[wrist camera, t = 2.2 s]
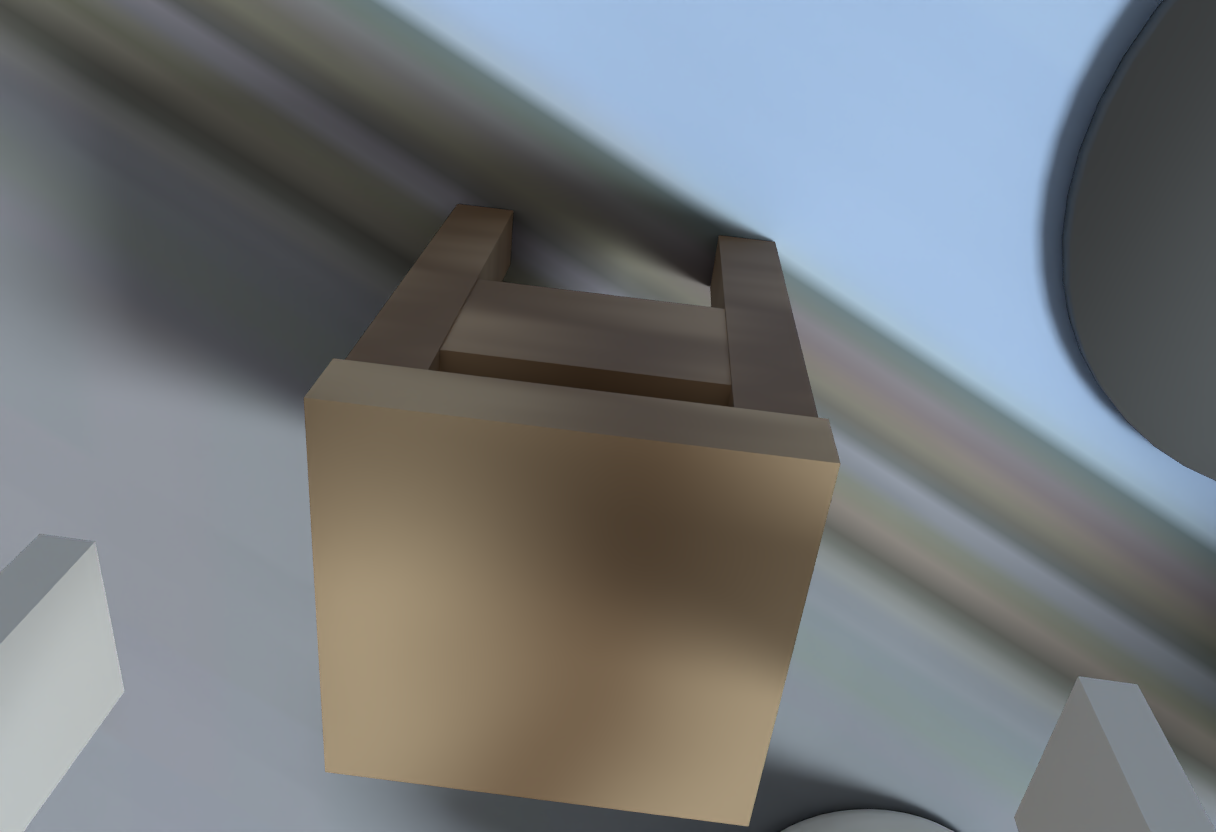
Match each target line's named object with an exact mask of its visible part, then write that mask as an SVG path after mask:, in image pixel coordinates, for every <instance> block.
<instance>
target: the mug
mask: <svg viewBox="0 0 1216 832" xmlns="http://www.w3.org/2000/svg"><path fill="white" fill-rule="evenodd" d="M781 832H954V831H952V830H950V829H948V828H946V827H944V826H942V825H940V824H938V823H936V822H933V821H930V820H928V819H925V818H922V817H919V816H915V815H911V814H907V813H903V812H896V811H890V810H877V809H855V810H845V811H837V812H832V813H827V814H822V815H818V816H815V817H812V818H809V819H806V820H803V821H801V822H799V823H796V824H794V825H791V826H789V827H788V828H786V829H784V830H782V831H781Z"/></svg>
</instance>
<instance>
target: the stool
mask: <svg viewBox="0 0 1216 832" xmlns="http://www.w3.org/2000/svg"><path fill="white" fill-rule="evenodd" d="M512 228H513V210H504V209H496V208H488V207H479V206H471V205H463V204H457V205H456V207H455V208H454V210H453V211H452V212H451V214H450V215H449V217H448V218H447V219H446V221H445V222H444V223H443V225H442V226H441V228H440V229H439V230H438V232H437V233H436V234H435V236H434V237H433V239H432V240H431V241H430V243H429V244H428V246H427V247H426V248H425V250H424V251H423V252H422V254H421V255H420V257H419V258H418V259H417V261H416V262H415V263H414V265H413V266H412V268H411V269H410V270H409V272H408V273H407V274H406V276H405V277H404V279H403V280H402V281H401V283H400V284H399V286H398V287H397V288H396V290H395V291H394V292H393V294H392V295H391V297H390V298H389V299H388V301H387V302H386V303H385V305H384V306H383V308H382V309H381V310H380V312H379V313H378V314H377V316H376V317H375V319H374V320H373V321H372V323H371V324H370V326H369V327H368V328H367V330H366V331H365V332H364V334H363V335H362V337H361V338H360V339H359V341H358V342H357V343H356V345H355V346H354V348H353V349H352V350H351V352H350V353H349V354H348V356H347V357H346V359H345V360H343V359H334V358H333V359H332V361H331V362H330V363H329V365H328V366H327V367H326V369H325V370H324V371H323V373H322V374H321V375H320V377H319V378H318V379H317V381H316V382H315V383H314V385H313V386H312V387H311V389H310V390H309V391H308V393H307V394H306V395H305V397H304V410H305V428H306V445H307V462H308V480H309V497H310V514H311V532H312V549H313V567H314V584H315V601H316V619H317V636H318V654H319V671H320V688H321V706H322V723H323V741H324V758H325V772H330V773H337V774H345V775H353V776H361V777H368V778H376V779H384V780H392V781H399V782H407V783H415V784H423V785H431V786H438V787H446V788H454V789H462V790H469V791H477V792H485V793H493V794H500V795H508V796H516V797H524V798H531V799H539V800H547V801H555V802H563V803H570V804H578V805H586V806H594V807H601V808H609V809H617V810H625V811H632V812H640V813H648V814H656V815H663V816H671V817H679V818H687V819H695V820H702V821H710V822H718V823H726V824H733V825H741V826H749V822H750V818H751V814H752V811H753V807H754V803H755V799H756V795H757V791H758V787H759V783H760V779H761V775H762V771H763V767H764V763H765V759H766V755H767V751H768V747H769V743H770V739H771V735H772V732H773V728H774V724H775V720H776V716H777V712H778V708H779V704H780V700H781V696H782V692H783V688H784V684H785V680H786V676H787V672H788V668H789V664H790V660H791V656H792V653H793V649H794V645H795V641H796V637H797V633H798V629H799V625H800V621H801V617H802V613H803V609H804V605H805V601H806V597H807V593H808V589H809V585H810V581H811V577H812V574H813V570H814V566H815V562H816V558H817V554H818V550H819V546H820V542H821V538H822V534H823V530H824V526H825V522H826V518H827V514H828V510H829V506H830V502H831V498H832V495H833V491H834V487H835V483H836V479H837V475H838V471H839V467H840V460H839V457H838V453H837V449H836V445H835V442H834V438H833V434H832V430H831V426H830V423H829V419H825V418H818V414H817V410H816V406H815V402H814V398H813V394H812V390H811V386H810V382H809V378H808V374H807V370H806V366H805V362H804V358H803V353H802V349H801V345H800V341H799V337H798V333H797V329H796V325H795V321H794V317H793V313H792V309H791V305H790V301H789V297H788V293H787V289H786V284H785V280H784V276H783V272H782V268H781V264H780V260H779V256H778V252H777V248H776V244H775V242H772V241H763V240H755V239H746V238H738V237H730V236H721V235H719V237H718V243H717V249H716V256H715V262H714V268H713V274H712V281H711V287H710V291H711V307H705V306H696V305H688V304H680V303H672V302H663V301H655V300H647V299H639V298H630V297H622V296H614V295H605V294H597V293H589V292H581V291H572V290H564V289H556V288H548V287H539V286H531V285H523V284H515V283H506V282H502V281H503V279H504V277H505V275H506V272H507V270H508V268H509V266H510V264H511V246H512Z"/></svg>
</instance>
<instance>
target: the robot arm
mask: <svg viewBox="0 0 1216 832" xmlns="http://www.w3.org/2000/svg"><path fill="white" fill-rule="evenodd" d="M123 693H124V686H123V681H122V676H121V671H120V666H119V660H118V655H117V650H116V645H115V640H114V635H113V630H112V625H111V620H110V614H109V609H108V604H107V599H106V594H105V589H104V584H103V579H102V573H101V568H100V563H99V558H98V553H97V548H96V543H95V541H88V540H81V539H73V538H66V537H59V536H51V535H44V534H39V535H38V536H37V537H36V538H35V539H34V540H33V541H32V542H31V543H30V544H29V545H28V546H27V547H26V548H25V549H24V550H23V551H22V552H21V553H20V554H19V555H18V556H17V557H16V558H15V559H14V560H13V561H12V562H10V563H9V564H8V565H7V566H6V567H5V568H4V569H3V570H2V571H1V572H0V832H24V831H25V829H26V828H27V826H28V825H29V824H30V822H31V821H32V820H33V818H34V817H35V815H36V814H37V813H38V811H39V810H40V808H41V807H42V806H43V804H44V803H45V801H46V800H47V799H48V797H49V796H50V794H51V793H52V792H53V790H54V789H55V787H56V786H57V785H58V783H59V782H60V781H61V779H62V778H63V776H64V775H65V774H66V772H67V771H68V769H69V768H70V767H71V765H72V764H73V762H74V761H75V760H76V758H77V757H78V755H79V754H80V753H81V751H82V750H83V749H84V747H85V746H86V744H87V743H88V742H89V740H90V739H91V737H92V736H93V735H94V733H95V732H96V730H97V729H98V728H99V726H100V725H101V723H102V722H103V721H104V719H105V718H106V717H107V715H108V714H109V712H110V711H111V710H112V708H113V707H114V705H115V704H116V703H117V701H118V700H119V698H120V697H121V696H122V694H123ZM1014 818H1015V821H1016V825H1017V828H1018V831H1019V832H1216V830H1215V829H1214V827H1213V825H1212V823H1211V821H1210V819H1209V817H1208V816H1207V814H1206V812H1205V810H1204V808H1203V806H1202V804H1201V802H1200V801H1199V799H1198V797H1197V795H1196V793H1195V791H1194V789H1193V787H1192V786H1191V784H1190V782H1189V780H1188V778H1187V776H1186V774H1185V773H1184V771H1183V769H1182V767H1181V765H1180V763H1179V761H1178V759H1177V758H1176V756H1175V754H1174V752H1173V750H1172V748H1171V746H1170V744H1169V743H1168V741H1167V739H1166V737H1165V735H1164V733H1163V731H1162V730H1161V728H1160V726H1159V724H1158V722H1157V720H1156V718H1155V716H1154V715H1153V713H1152V711H1151V709H1150V707H1149V705H1148V703H1147V701H1146V700H1145V698H1144V696H1143V694H1142V692H1141V690H1140V688H1139V687H1138V685H1137V684H1131V683H1123V682H1116V681H1109V680H1102V679H1094V678H1087V677H1080V676H1078V678H1077V680H1076V682H1075V684H1074V687H1073V689H1072V691H1071V693H1070V695H1069V698H1068V700H1067V702H1066V704H1065V706H1064V709H1063V711H1062V713H1061V715H1060V717H1059V720H1058V722H1057V724H1056V726H1055V728H1054V731H1053V733H1052V735H1051V737H1050V740H1049V742H1048V744H1047V746H1046V748H1045V751H1044V753H1043V755H1042V757H1041V759H1040V762H1039V764H1038V766H1037V768H1036V770H1035V773H1034V775H1033V777H1032V779H1031V781H1030V784H1029V786H1028V788H1027V790H1026V792H1025V795H1024V797H1023V799H1022V801H1021V803H1020V806H1019V808H1018V810H1017V812H1016V815H1015V817H1014Z"/></svg>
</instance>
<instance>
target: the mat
mask: <svg viewBox="0 0 1216 832" xmlns="http://www.w3.org/2000/svg"><path fill="white" fill-rule="evenodd" d="M1062 262H1063V284H1064V290H1065V296H1066V302H1067V308H1068V314H1069V319H1070V322H1071V325H1072V328H1073V331H1074V334H1075V337H1076V340H1077V342H1078V345H1079V348H1080V351H1081V354H1082V356H1083V357H1084V359H1085V361H1086V363H1087V365H1088V367H1089V369H1090V370H1091V372H1092V374H1093V376H1094V378H1095V380H1096V382H1097V383H1098V385H1099V386H1100V387H1101V389H1102V390H1103V391H1104V393H1105V394H1106V395H1107V396H1108V398H1109V399H1110V400H1111V402H1112V403H1113V404H1114V405H1115V407H1116V408H1117V409H1118V411H1119V412H1120V413H1121V414H1122V415H1123V417H1124V418H1125V419H1126V420H1127V422H1128V423H1130V424H1131V425H1132V426H1133V427H1134V428H1135V429H1136V430H1137V431H1138V432H1139V433H1140V434H1141V435H1143V436H1144V437H1145V438H1146V439H1147V440H1148V441H1149V442H1150V443H1151V444H1152V445H1153V446H1155V447H1156V448H1158V449H1159V450H1161V451H1162V452H1164V453H1165V454H1167V455H1168V456H1170V457H1171V458H1173V459H1174V460H1176V461H1177V462H1179V463H1180V464H1182V465H1183V466H1185V467H1187V468H1189V469H1192V470H1194V471H1196V472H1198V473H1200V474H1202V475H1204V476H1206V477H1209V478H1211V479H1213V480H1215V481H1216V0H1164V1H1163V2H1162V3H1161V4H1160V5H1159V6H1158V8H1157V9H1156V10H1155V12H1154V13H1153V15H1152V16H1151V18H1150V19H1149V20H1148V22H1147V23H1146V25H1145V26H1144V28H1143V29H1142V31H1141V32H1140V34H1139V35H1138V36H1137V38H1136V39H1135V41H1134V42H1133V44H1132V45H1131V47H1130V48H1129V50H1128V51H1127V52H1126V54H1125V55H1124V57H1123V59H1122V61H1121V63H1120V64H1119V66H1118V68H1117V70H1116V72H1115V74H1114V76H1113V77H1112V79H1111V81H1110V83H1109V85H1108V87H1107V89H1106V90H1105V92H1104V94H1103V96H1102V98H1101V100H1100V102H1099V103H1098V106H1097V108H1096V111H1095V113H1094V116H1093V118H1092V121H1091V123H1090V126H1089V128H1088V131H1087V133H1086V136H1085V138H1084V141H1083V143H1082V146H1081V148H1080V151H1079V155H1078V159H1077V162H1076V166H1075V170H1074V174H1073V178H1072V181H1071V185H1070V189H1069V193H1068V197H1067V205H1066V213H1065V221H1064V229H1063V236H1062Z"/></svg>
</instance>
